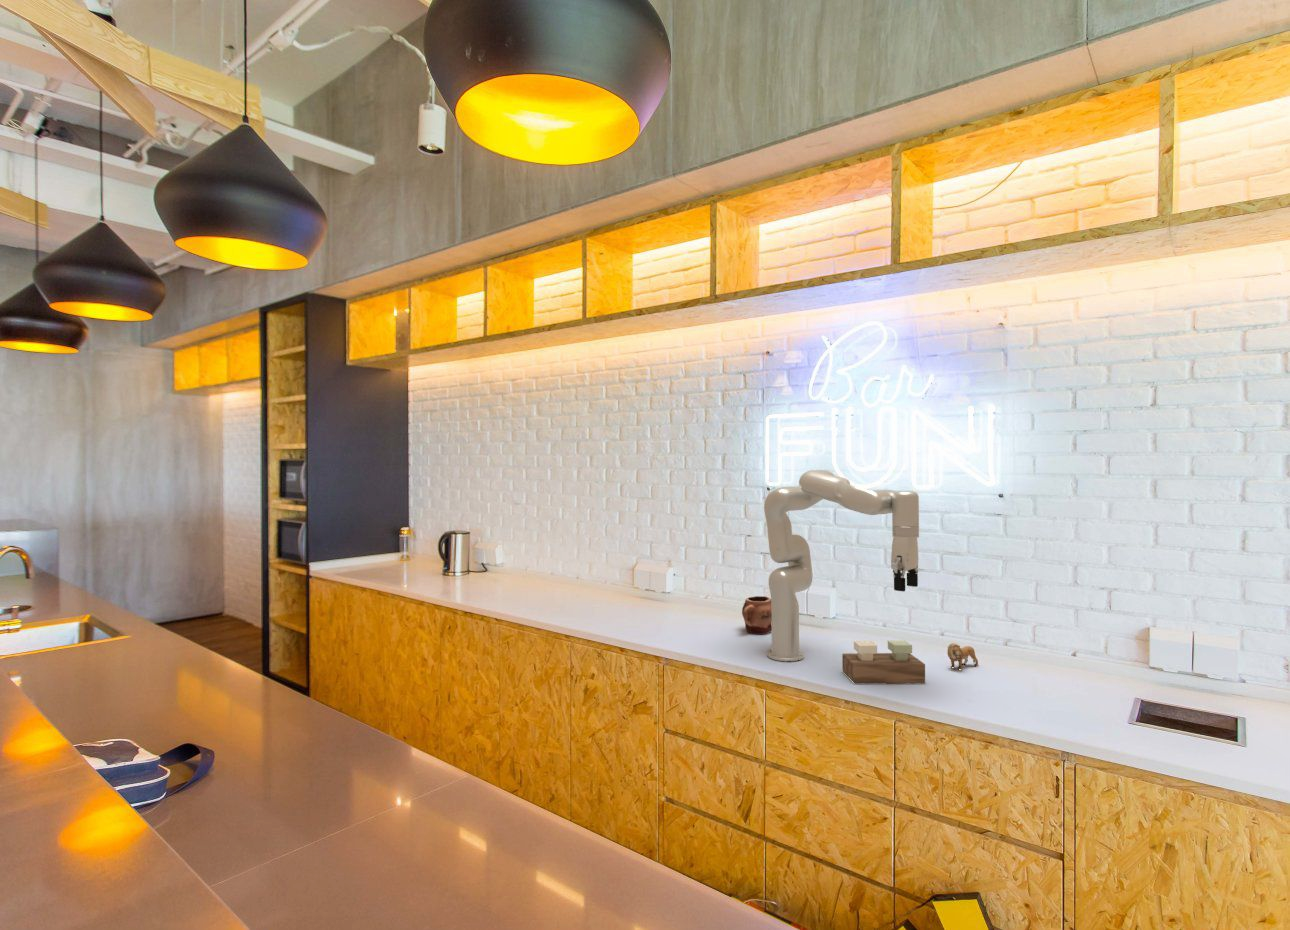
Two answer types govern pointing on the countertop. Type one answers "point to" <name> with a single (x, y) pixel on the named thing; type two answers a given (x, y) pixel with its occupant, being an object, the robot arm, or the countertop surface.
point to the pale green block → (900, 650)
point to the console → (883, 669)
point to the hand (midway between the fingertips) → (906, 588)
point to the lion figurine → (961, 654)
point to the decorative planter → (757, 614)
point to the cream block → (865, 650)
